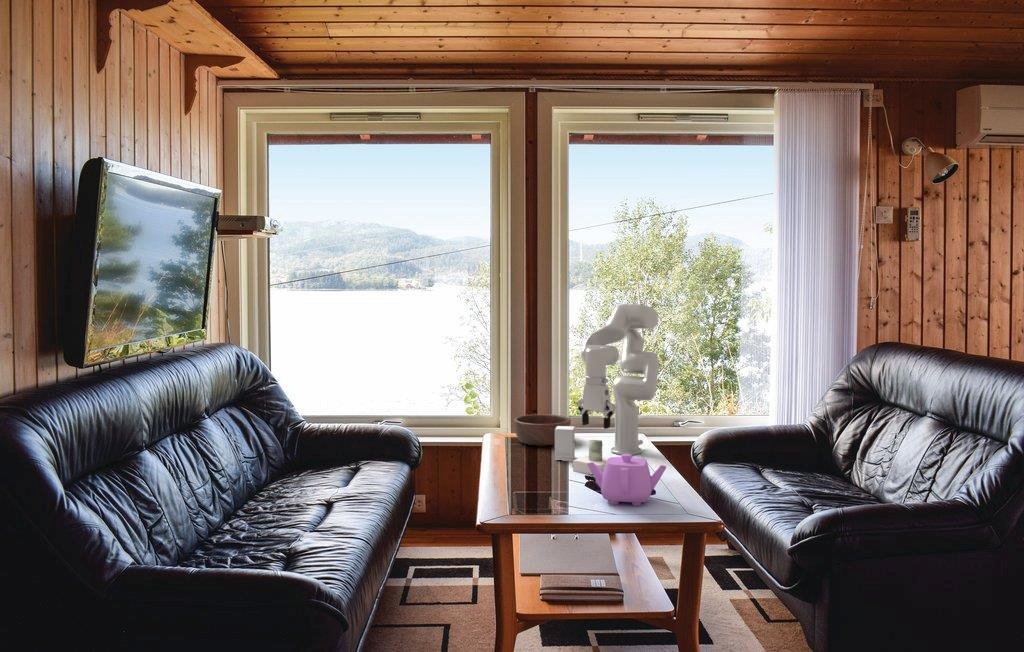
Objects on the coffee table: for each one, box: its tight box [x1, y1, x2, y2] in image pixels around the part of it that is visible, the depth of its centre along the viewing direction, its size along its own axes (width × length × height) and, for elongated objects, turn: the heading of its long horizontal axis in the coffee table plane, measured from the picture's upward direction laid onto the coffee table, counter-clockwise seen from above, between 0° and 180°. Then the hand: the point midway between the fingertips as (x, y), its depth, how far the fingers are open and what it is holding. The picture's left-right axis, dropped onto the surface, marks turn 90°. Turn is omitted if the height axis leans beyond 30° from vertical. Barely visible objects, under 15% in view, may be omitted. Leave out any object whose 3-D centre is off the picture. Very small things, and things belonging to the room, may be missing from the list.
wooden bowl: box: [513, 413, 572, 447], centre depth 329 cm, size 25×25×10 cm
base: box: [572, 455, 610, 475], centre depth 279 cm, size 12×12×4 cm
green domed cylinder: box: [588, 439, 603, 461], centre depth 278 cm, size 5×5×7 cm
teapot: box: [587, 454, 667, 507], centre depth 240 cm, size 19×18×15 cm
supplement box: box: [554, 425, 576, 462], centre depth 297 cm, size 7×7×13 cm
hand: (596, 426), depth 278 cm, fingers open, 9 cm apart
